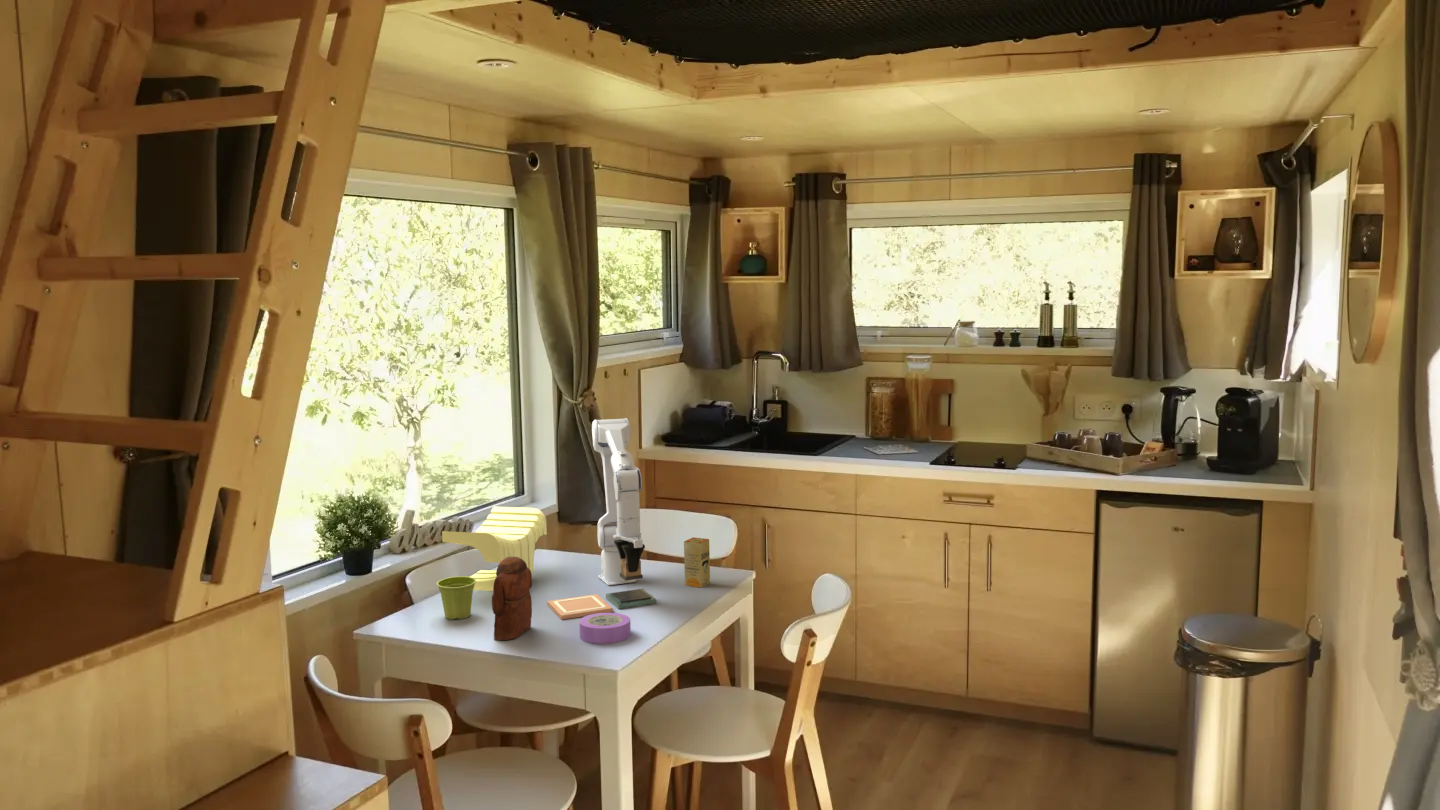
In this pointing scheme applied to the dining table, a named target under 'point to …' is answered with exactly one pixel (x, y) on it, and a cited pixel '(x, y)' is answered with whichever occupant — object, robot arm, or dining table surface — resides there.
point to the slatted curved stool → (503, 539)
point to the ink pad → (630, 598)
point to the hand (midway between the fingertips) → (629, 569)
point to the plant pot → (457, 596)
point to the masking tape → (605, 628)
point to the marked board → (579, 606)
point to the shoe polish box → (697, 562)
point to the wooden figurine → (512, 599)
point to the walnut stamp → (629, 575)
